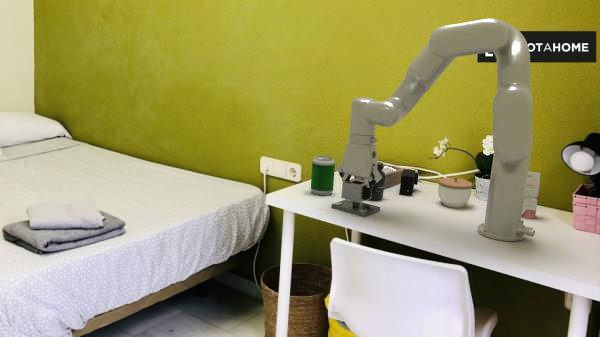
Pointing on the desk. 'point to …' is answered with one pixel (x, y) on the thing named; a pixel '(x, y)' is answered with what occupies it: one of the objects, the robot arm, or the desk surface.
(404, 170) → the digital camera
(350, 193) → the block
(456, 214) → the desk surface
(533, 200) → the ink cartridge box
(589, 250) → the desk surface
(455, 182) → the lidded jar
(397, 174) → the organizer frame
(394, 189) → the desk surface
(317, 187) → the soda can
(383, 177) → the supplement bottle
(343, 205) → the stand
